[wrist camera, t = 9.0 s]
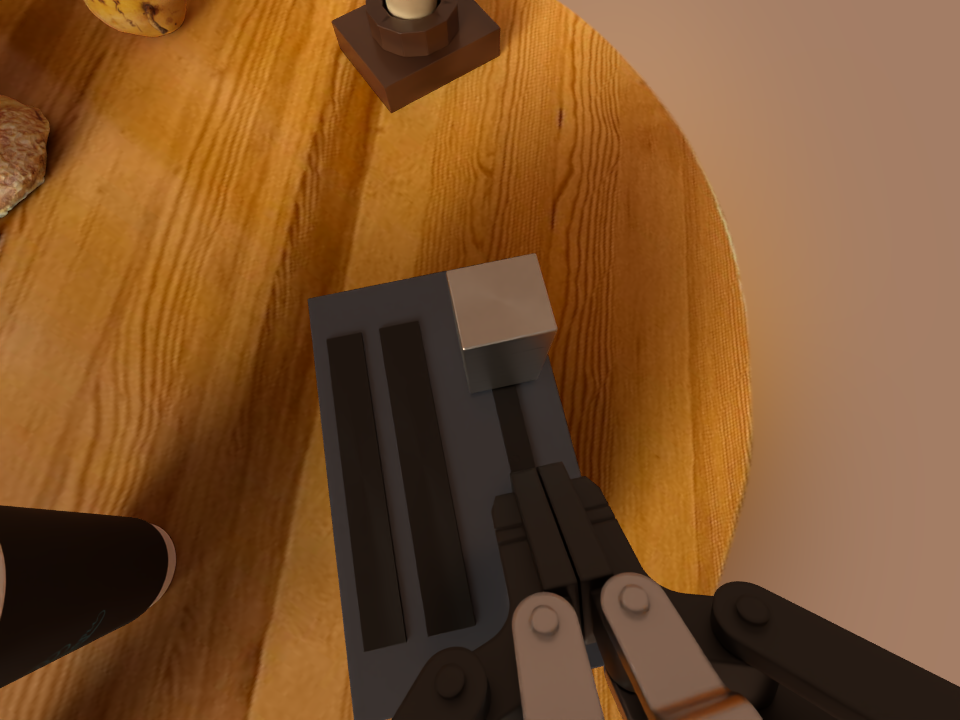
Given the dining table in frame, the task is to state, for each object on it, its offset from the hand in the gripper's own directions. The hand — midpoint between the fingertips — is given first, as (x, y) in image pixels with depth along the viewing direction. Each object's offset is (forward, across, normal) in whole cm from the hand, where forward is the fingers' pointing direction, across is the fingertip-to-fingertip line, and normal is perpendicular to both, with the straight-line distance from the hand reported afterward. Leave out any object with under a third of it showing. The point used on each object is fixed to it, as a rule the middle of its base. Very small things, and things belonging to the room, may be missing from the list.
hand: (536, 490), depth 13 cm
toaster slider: (+6, 0, -1) cm, 6 cm away
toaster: (+11, +2, +8) cm, 14 cm away
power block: (+34, 0, -15) cm, 37 cm away
